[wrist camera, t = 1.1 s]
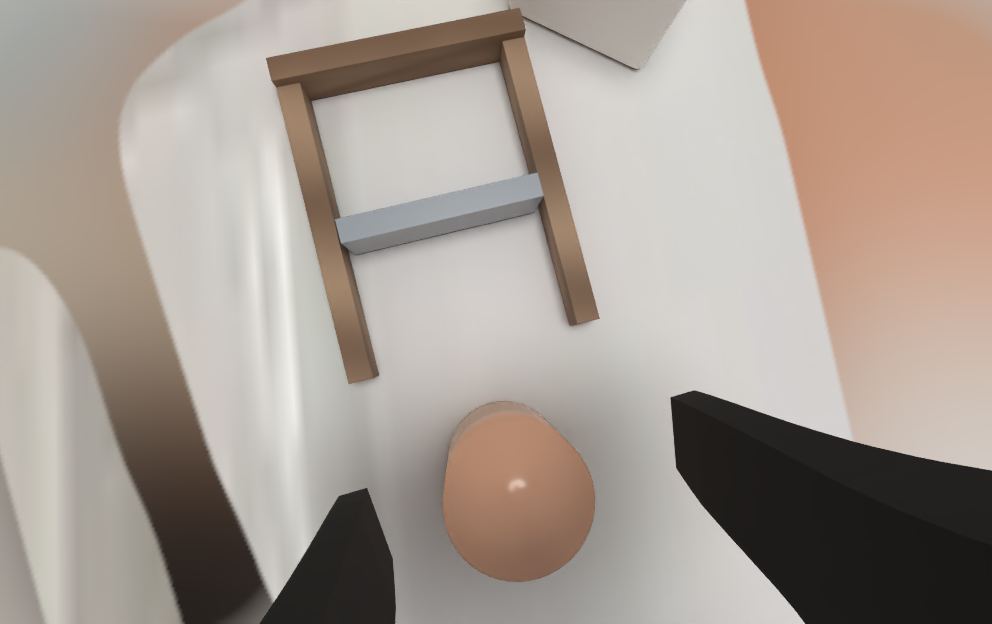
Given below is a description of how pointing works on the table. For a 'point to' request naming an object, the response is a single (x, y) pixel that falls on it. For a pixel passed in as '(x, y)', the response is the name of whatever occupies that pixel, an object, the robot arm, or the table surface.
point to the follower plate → (440, 214)
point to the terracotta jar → (515, 493)
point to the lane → (404, 61)
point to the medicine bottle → (607, 23)
